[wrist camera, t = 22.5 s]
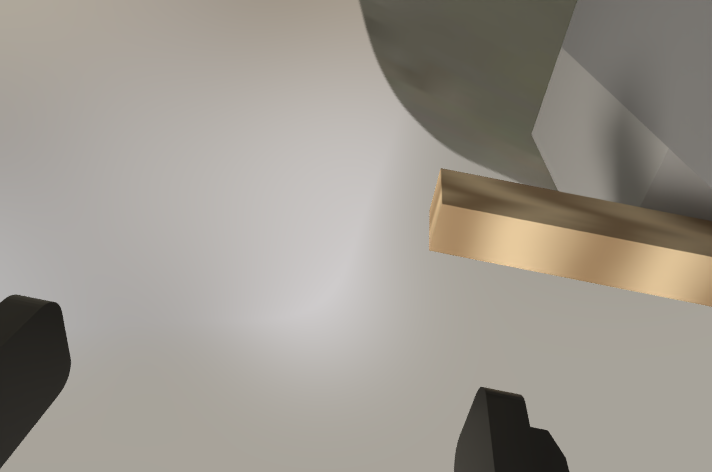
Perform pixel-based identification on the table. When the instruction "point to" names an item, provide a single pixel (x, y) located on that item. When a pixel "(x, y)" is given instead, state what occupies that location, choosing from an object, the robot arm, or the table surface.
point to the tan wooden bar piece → (572, 236)
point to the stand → (633, 105)
